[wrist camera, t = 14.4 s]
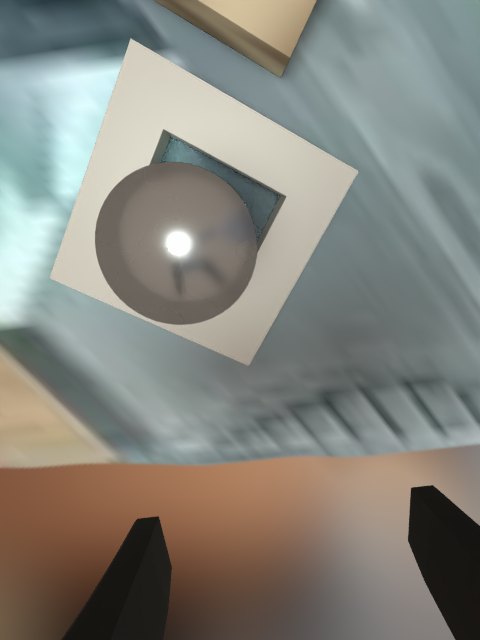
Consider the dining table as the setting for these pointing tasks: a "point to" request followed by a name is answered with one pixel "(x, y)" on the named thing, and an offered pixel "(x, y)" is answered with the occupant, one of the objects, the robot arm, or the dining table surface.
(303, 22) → the socket block
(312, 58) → the dining table surface
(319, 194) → the white square frame
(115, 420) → the dining table surface
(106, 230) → the grey cylinder
